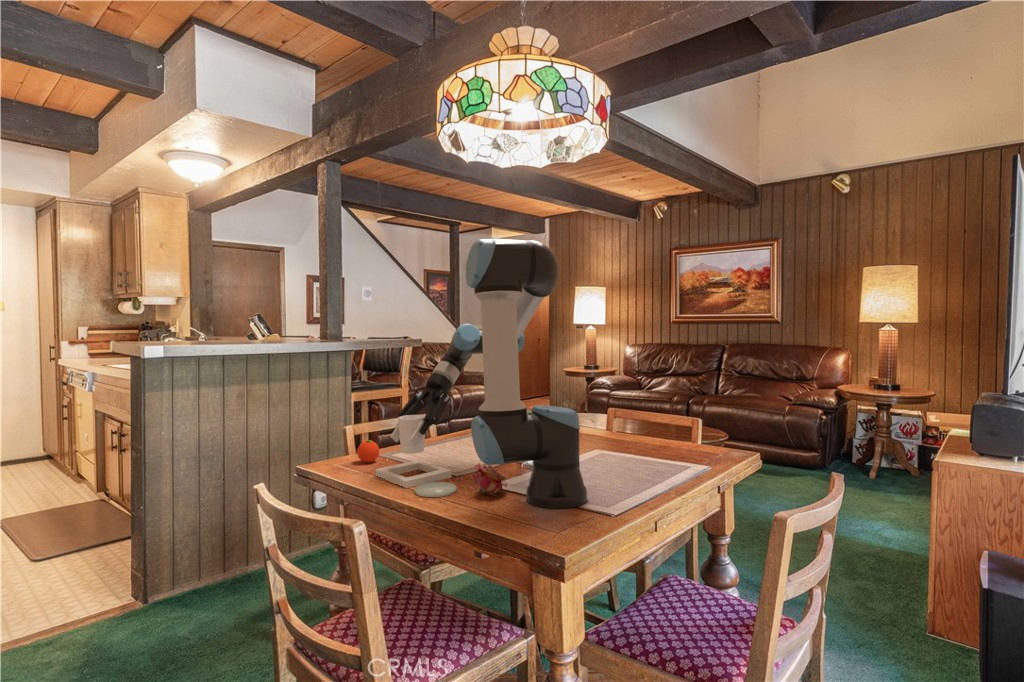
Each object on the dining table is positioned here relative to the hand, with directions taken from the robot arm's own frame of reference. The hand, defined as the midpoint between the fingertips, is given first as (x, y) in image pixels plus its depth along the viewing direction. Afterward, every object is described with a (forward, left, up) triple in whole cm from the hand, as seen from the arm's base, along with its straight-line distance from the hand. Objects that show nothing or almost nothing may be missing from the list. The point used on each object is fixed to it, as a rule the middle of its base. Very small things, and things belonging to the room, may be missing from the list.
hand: (403, 440), depth 157 cm
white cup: (+1, -3, -4) cm, 5 cm away
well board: (+1, -3, -11) cm, 12 cm away
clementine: (+26, -2, -11) cm, 28 cm away
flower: (-27, -9, -11) cm, 31 cm away
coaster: (-15, 0, -11) cm, 19 cm away
